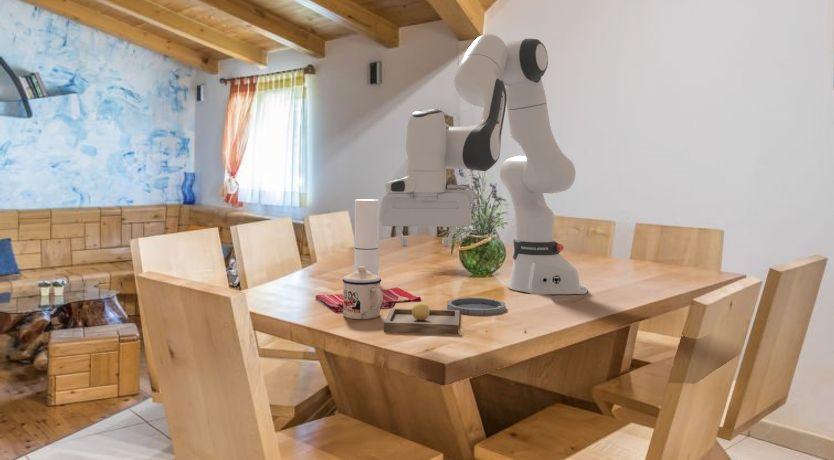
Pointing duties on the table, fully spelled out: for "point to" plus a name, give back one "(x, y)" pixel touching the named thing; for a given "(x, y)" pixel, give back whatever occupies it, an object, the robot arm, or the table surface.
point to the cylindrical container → (366, 235)
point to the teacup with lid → (362, 295)
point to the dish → (476, 306)
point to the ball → (420, 311)
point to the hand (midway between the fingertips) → (425, 246)
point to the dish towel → (389, 301)
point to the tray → (432, 324)
